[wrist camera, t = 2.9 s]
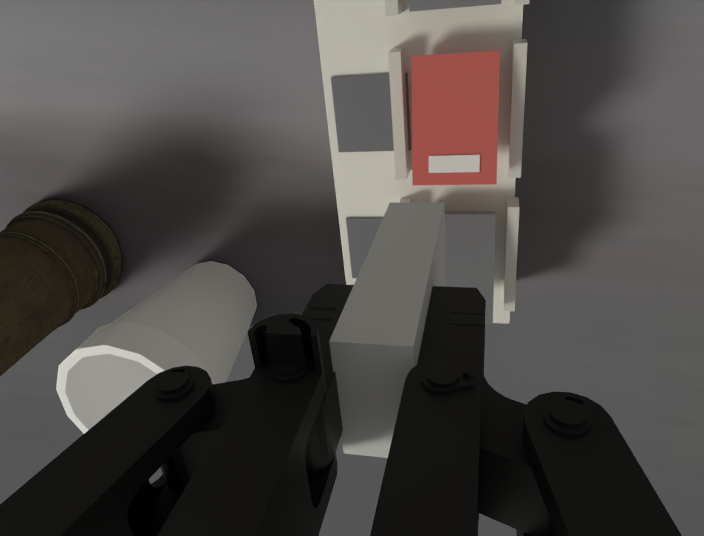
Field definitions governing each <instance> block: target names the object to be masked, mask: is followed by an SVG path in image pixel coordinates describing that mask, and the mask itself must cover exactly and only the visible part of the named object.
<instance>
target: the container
mask: <svg viewBox="0 0 704 536" xmlns="http://www.w3.org/2000/svg"><path fill="white" fill-rule="evenodd" d="M121 271H122V256H121V252H120V248H119V245H118V242H117V240H116V238H115V236H114V234H113V233H112V231H111V230H110V228H109V227H108V226H107V225H106V224H105V223H104V222H103V220H101V219H100V218H99V217H98V216H97V215H95V214H94V213H92V212H91V211H89V210H88V209H86V208H84V207H83V206H80V205H78V204H75V203H72V202H69V201H64V200H48V201H42V202H39V203H36V204H34V205H32V206H30V207H29V208H27V209H26V210H25V211H24V212H23V213H22V214H20V215H18V216H16V217H15V218H13V219H12V220H11V221H10V222H9V224H8V225H7V227H6V229H5V230H3V231H1V232H0V376H1V375H2V374H3V373H5V372H6V371H7V370H8V369H9V368H10V367H11V366H13V365H14V364H15V363H16V362H17V361H18V360H19V359H21V358H22V357H23V356H24V355H25V354H26V353H28V352H29V351H30V350H31V349H32V348H33V347H35V346H36V345H37V344H38V343H39V342H40V341H42V340H43V339H44V338H45V337H46V336H47V335H49V334H50V333H51V332H52V331H54V330H55V329H56V328H57V327H60V326H62V325H64V324H66V323H67V322H68V321H70V320H71V319H72V317H73V316H74V315H75V313H77V312H78V311H79V310H80V309H84V308H87V307H90V306H92V305H93V304H94V303H96V302H97V301H98V300H99V299H100V298H102V297H104V296H106V295H107V294H108V293H110V292H111V291H112V290H113V288H114V287H115V286H116V284H117V282H118V280H119V278H120V275H121Z"/></svg>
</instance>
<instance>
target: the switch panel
mask: <svg viewBox="0 0 704 536" xmlns="http://www.w3.org/2000/svg"><path fill="white" fill-rule="evenodd" d="M525 4H529V0H501V4H495V5H483V6H471V7H459V8H448V9H436V10H424V11H412V12H409V0H314V6H315V15H316V24H317V33H318V42H319V50H320V59H321V68H322V77H323V85H324V94H325V103H326V112H327V121H328V129H329V138H330V147H331V156H332V165H333V173H334V182H335V191H336V200H337V209H338V217H339V226H340V235H341V244H342V253H343V261H344V270H345V279H346V285H354V283H355V281H356V279H357V277H358V274H359V272H360V270H361V267H362V265H363V263H364V261H365V258H366V256H367V254H368V251H369V249H370V247H371V245H372V242H373V240H374V238H375V235H376V233H377V231H378V229H379V226H380V224H381V222H382V219H383V217H384V215H385V213H386V210H387V208H388V206H389V203H390V202H445V211H495V213H496V215H495V255H494V295H493V323H507V324H509V318H510V311H515V290H516V269H517V249H518V228H519V197H515V181H516V178H521V166H522V145H523V124H524V103H525V83H526V62H527V40H526V39H522V21H523V5H525ZM494 50H500V69H499V108H498V148H497V184H489V185H413V183H412V69H411V56H419V55H434V54H449V53H464V52H479V51H494Z"/></svg>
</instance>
